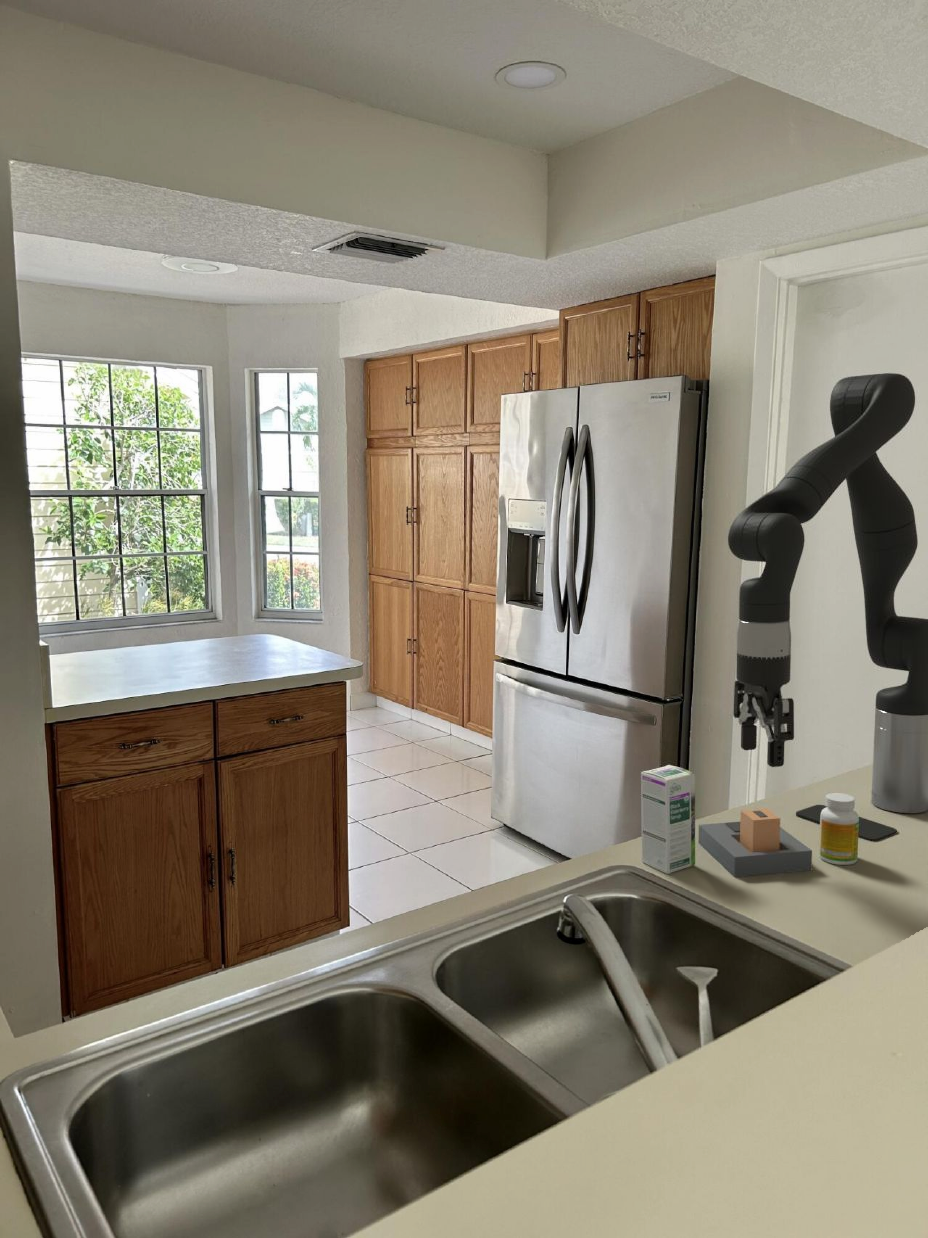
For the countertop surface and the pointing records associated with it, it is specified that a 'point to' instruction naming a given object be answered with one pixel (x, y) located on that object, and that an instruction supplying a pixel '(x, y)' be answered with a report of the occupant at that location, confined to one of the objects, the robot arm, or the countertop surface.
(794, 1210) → the countertop surface
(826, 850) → the supplement bottle
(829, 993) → the countertop surface
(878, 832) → the phone
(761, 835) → the block
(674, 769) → the syrup box
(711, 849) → the plate
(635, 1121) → the countertop surface
